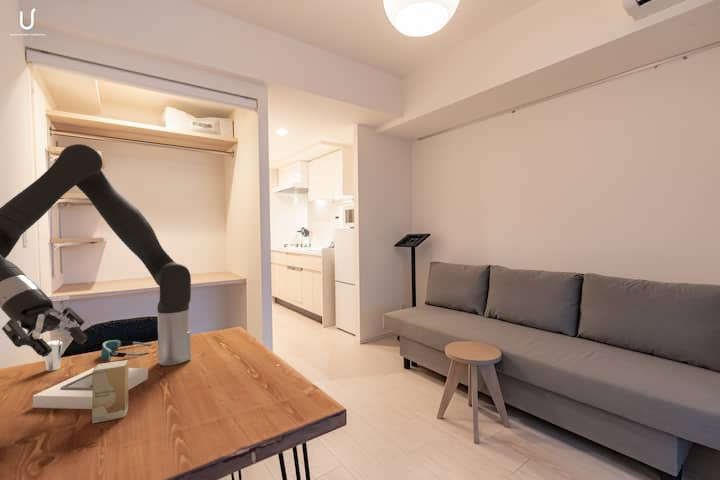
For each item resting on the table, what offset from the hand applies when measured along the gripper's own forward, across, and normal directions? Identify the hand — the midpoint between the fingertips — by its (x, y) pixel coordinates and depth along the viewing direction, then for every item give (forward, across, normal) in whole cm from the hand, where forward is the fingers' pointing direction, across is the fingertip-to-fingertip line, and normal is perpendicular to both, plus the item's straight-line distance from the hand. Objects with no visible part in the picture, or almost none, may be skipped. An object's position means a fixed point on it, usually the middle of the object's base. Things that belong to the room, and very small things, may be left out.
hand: (67, 347), depth 76 cm
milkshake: (-10, +25, +34) cm, 43 cm away
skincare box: (+19, 0, +4) cm, 20 cm away
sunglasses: (-2, +40, +25) cm, 48 cm away
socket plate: (+9, +11, +14) cm, 20 cm away
